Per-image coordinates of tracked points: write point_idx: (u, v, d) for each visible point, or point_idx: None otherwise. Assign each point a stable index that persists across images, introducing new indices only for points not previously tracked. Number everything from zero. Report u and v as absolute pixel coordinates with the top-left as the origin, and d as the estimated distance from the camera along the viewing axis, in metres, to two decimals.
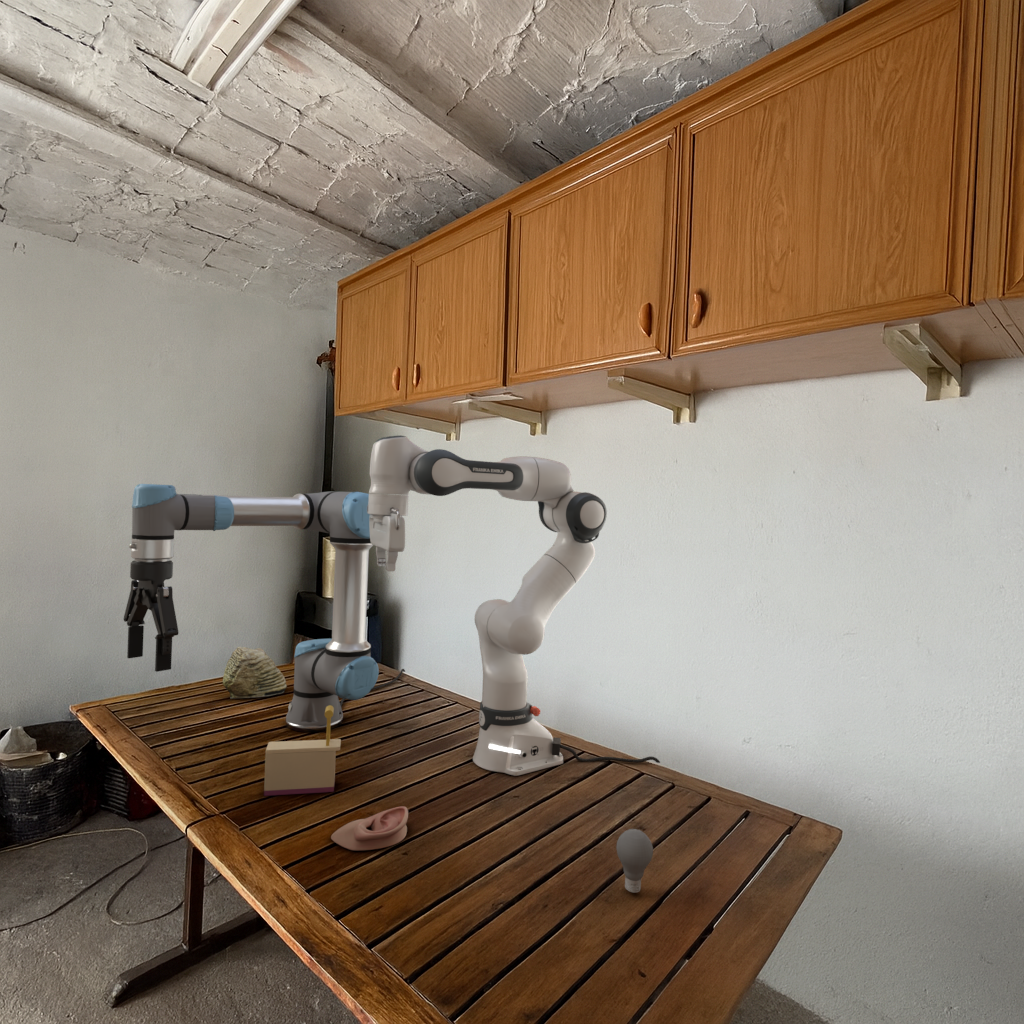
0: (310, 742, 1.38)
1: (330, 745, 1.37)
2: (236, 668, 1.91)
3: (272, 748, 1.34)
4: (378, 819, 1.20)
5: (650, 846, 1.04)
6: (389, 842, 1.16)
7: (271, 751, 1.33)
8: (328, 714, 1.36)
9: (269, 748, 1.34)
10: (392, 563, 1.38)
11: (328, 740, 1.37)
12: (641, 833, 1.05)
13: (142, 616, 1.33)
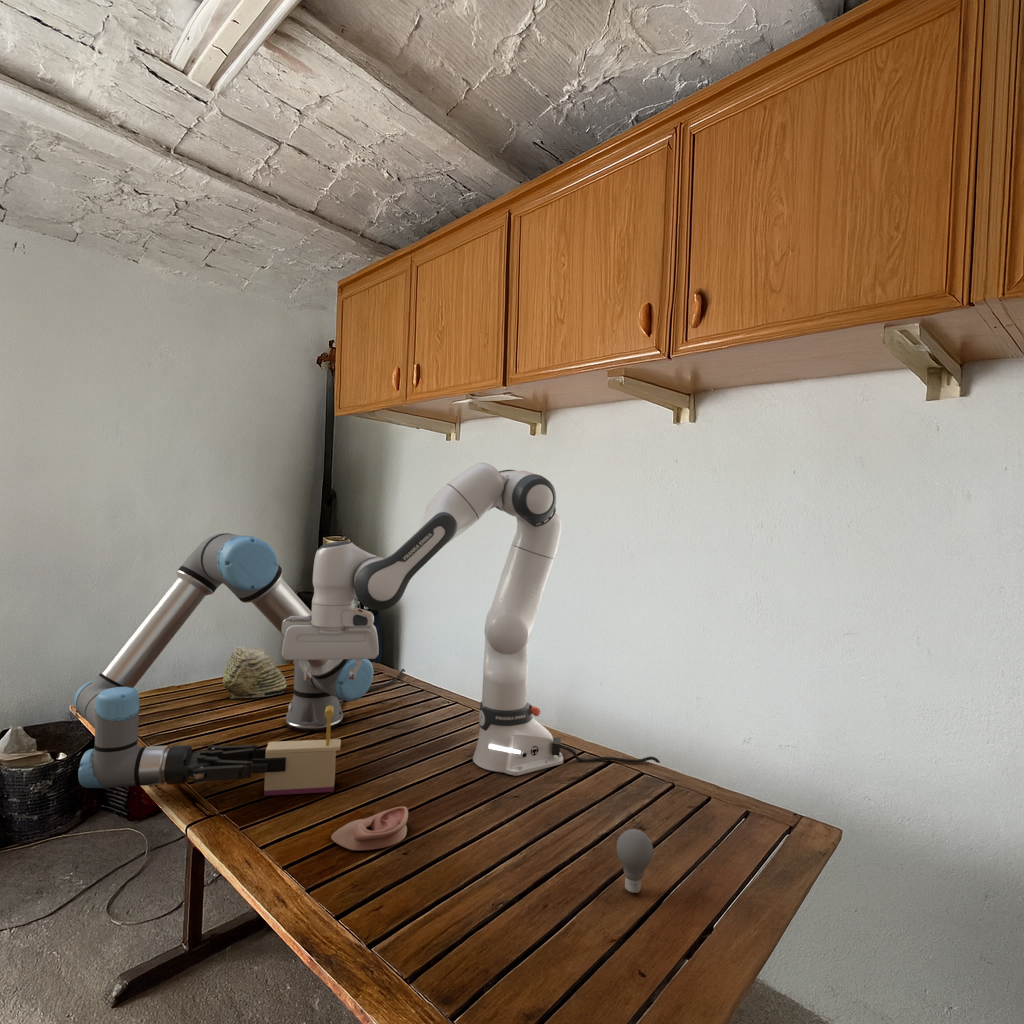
0: (311, 742, 1.38)
1: (330, 745, 1.37)
2: (236, 668, 1.91)
3: (272, 748, 1.34)
4: (378, 819, 1.20)
5: (650, 846, 1.04)
6: (389, 842, 1.16)
7: (271, 751, 1.33)
8: (328, 714, 1.36)
9: (269, 748, 1.34)
10: None
11: (328, 740, 1.37)
12: (641, 833, 1.05)
13: (242, 753, 1.36)
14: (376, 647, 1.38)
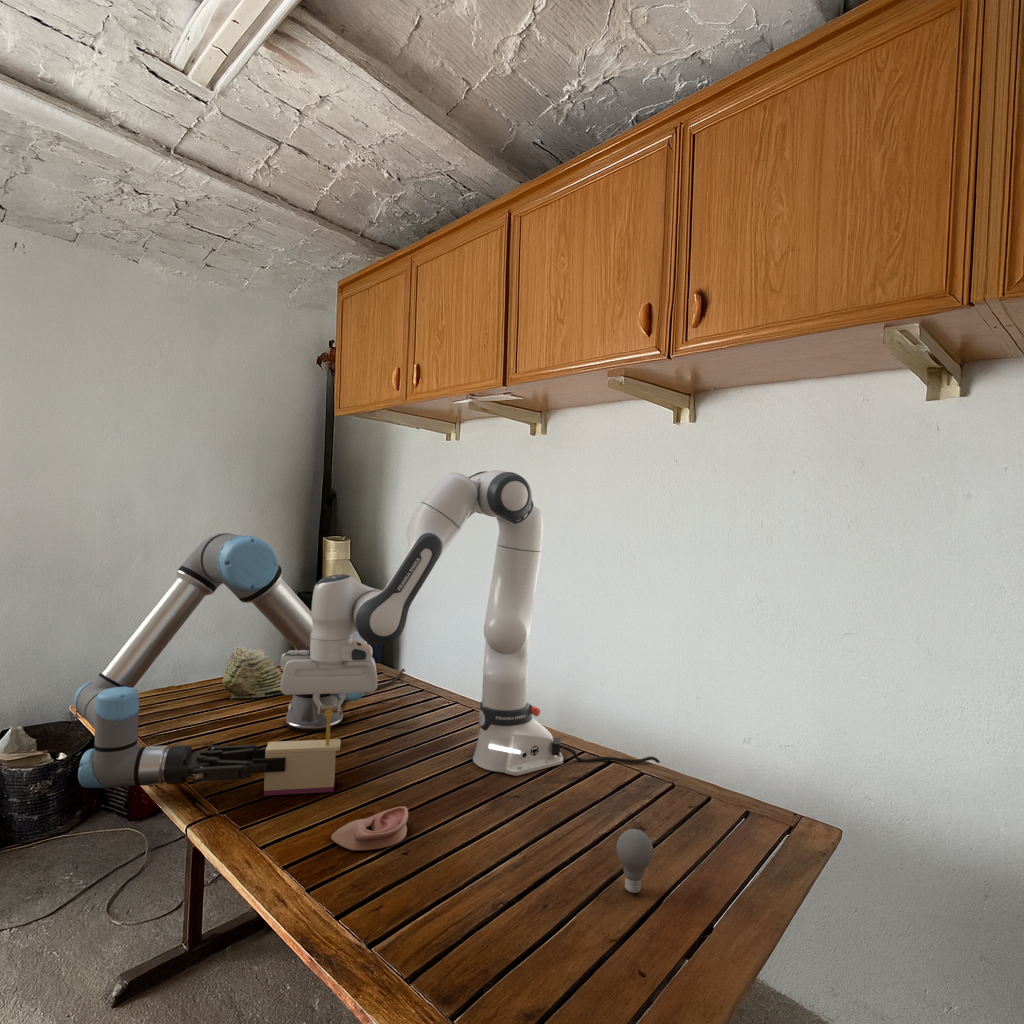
0: (310, 742, 1.38)
1: (330, 745, 1.37)
2: (236, 668, 1.91)
3: (271, 748, 1.34)
4: (378, 819, 1.20)
5: (650, 846, 1.04)
6: (389, 842, 1.16)
7: (271, 751, 1.33)
8: (328, 714, 1.36)
9: (269, 748, 1.34)
10: None
11: (328, 740, 1.37)
12: (641, 833, 1.05)
13: (241, 753, 1.36)
14: (375, 681, 1.38)
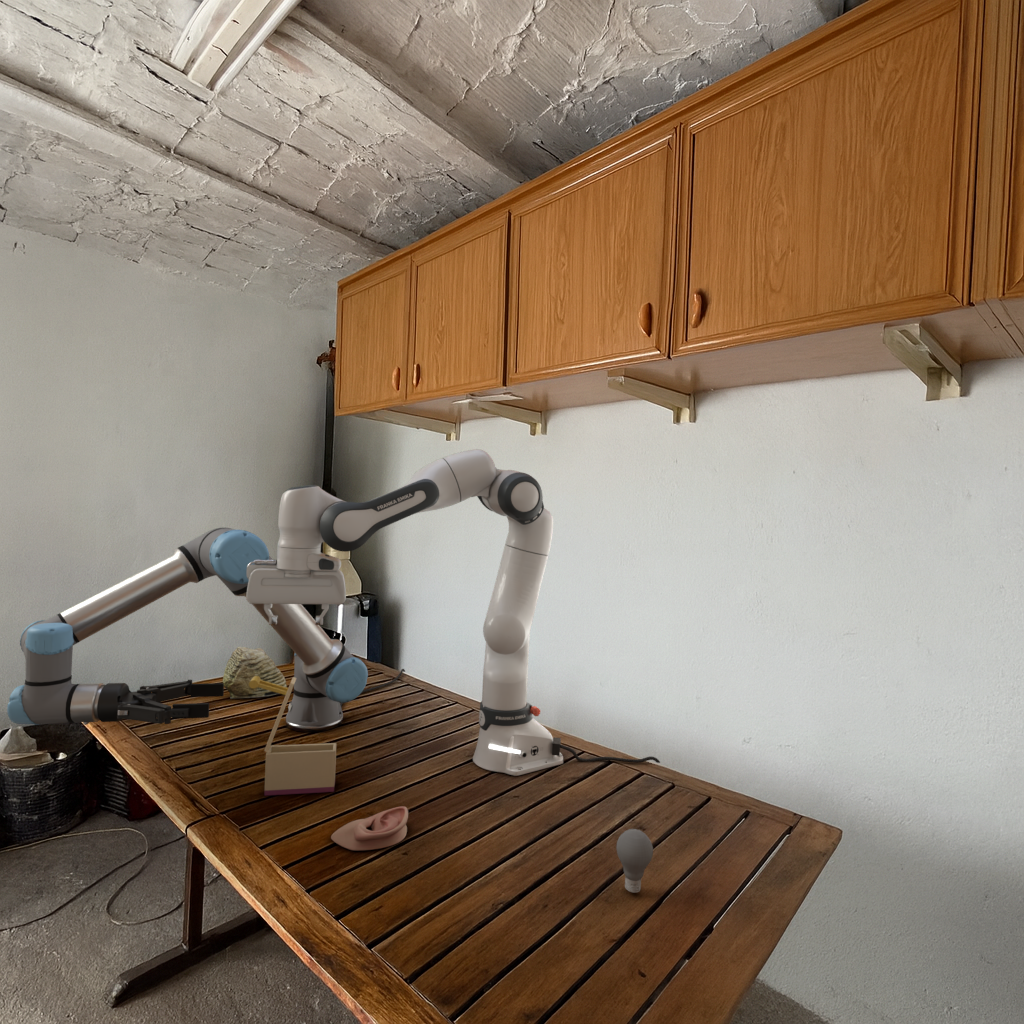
0: None
1: (287, 690, 1.35)
2: (236, 668, 1.91)
3: None
4: (378, 819, 1.20)
5: (650, 846, 1.04)
6: (389, 842, 1.16)
7: (267, 746, 1.33)
8: (253, 684, 1.33)
9: None
10: None
11: (280, 691, 1.34)
12: (641, 833, 1.05)
13: (178, 688, 1.36)
14: (343, 592, 1.36)
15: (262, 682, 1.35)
